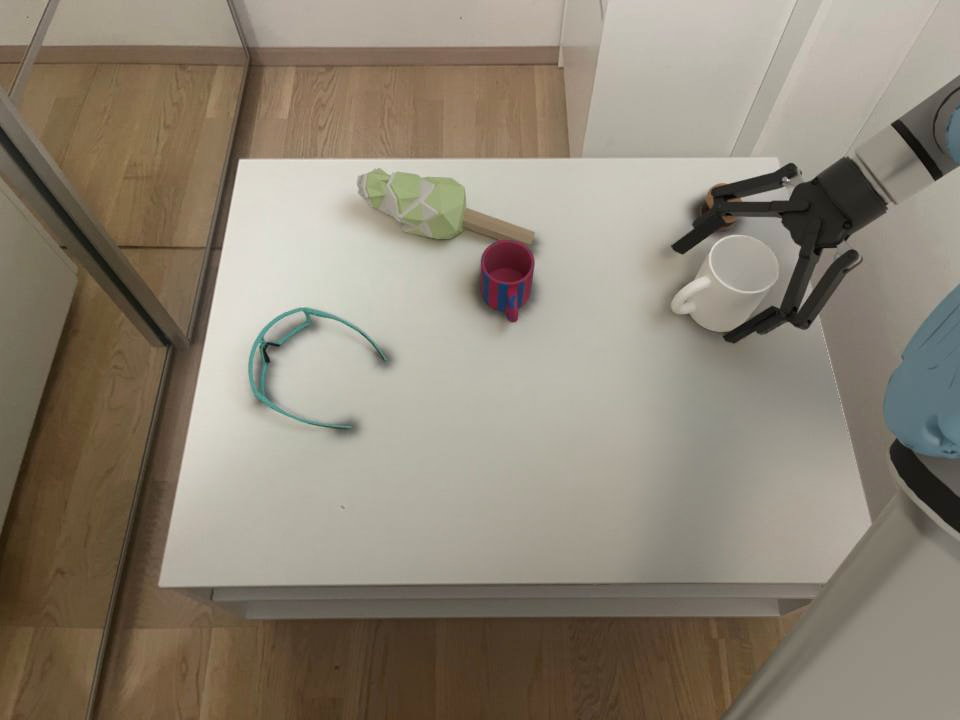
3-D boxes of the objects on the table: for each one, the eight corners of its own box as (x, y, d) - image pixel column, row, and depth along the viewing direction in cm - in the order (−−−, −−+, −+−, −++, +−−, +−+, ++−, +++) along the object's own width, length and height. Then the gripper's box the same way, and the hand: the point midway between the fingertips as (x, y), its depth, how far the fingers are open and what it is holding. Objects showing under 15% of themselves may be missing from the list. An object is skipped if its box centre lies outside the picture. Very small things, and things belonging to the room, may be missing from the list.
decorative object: (540, 207, 94) (370, 146, 92) (544, 216, 85) (356, 148, 83) (519, 265, 97) (354, 208, 95) (520, 280, 88) (338, 216, 86)
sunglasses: (291, 307, 88) (285, 289, 83) (394, 351, 87) (394, 335, 82) (235, 399, 82) (224, 384, 77) (344, 447, 81) (340, 435, 76)
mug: (675, 350, 85) (699, 310, 76) (648, 296, 89) (668, 252, 79) (759, 324, 87) (792, 282, 77) (729, 272, 90) (758, 226, 81)
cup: (529, 268, 90) (533, 239, 84) (532, 334, 86) (536, 308, 80) (480, 268, 90) (480, 239, 84) (480, 334, 86) (480, 308, 80)
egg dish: (743, 227, 93) (757, 204, 89) (710, 237, 93) (722, 215, 88) (723, 196, 96) (736, 172, 91) (691, 205, 95) (702, 182, 90)
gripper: (947, 281, 69) (763, 383, 80) (817, 111, 79) (670, 223, 90) (936, 267, 63) (739, 378, 74) (798, 86, 73) (643, 209, 84)
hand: (701, 294), depth 82 cm, fingers open, 13 cm apart
